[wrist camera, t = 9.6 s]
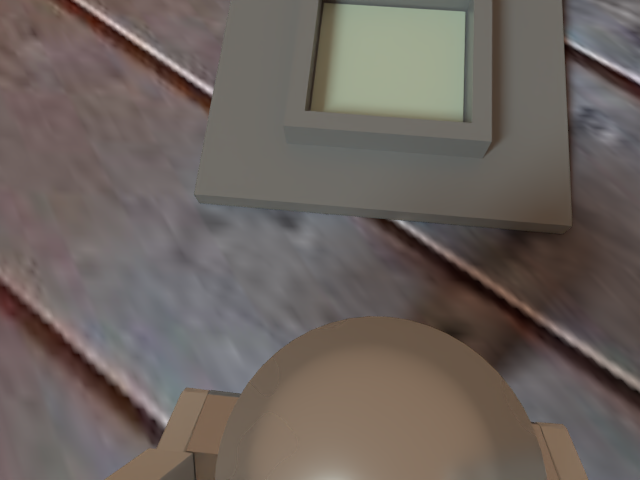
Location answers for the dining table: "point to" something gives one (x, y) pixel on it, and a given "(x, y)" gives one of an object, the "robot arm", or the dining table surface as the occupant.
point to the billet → (378, 411)
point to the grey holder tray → (393, 112)
